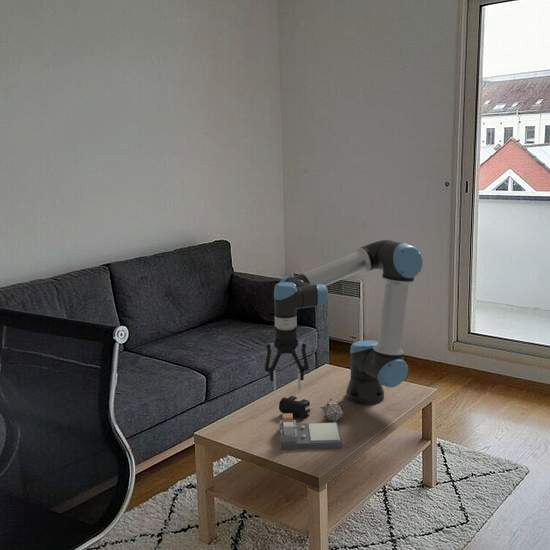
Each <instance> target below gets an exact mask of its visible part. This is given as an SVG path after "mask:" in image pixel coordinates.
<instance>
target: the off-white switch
mask: <svg viewBox="0 0 550 550" xmlns="http://www.w3.org/2000/svg"><path fill="white" fill-rule="evenodd" d="M283 432H284V436H289V435H294V424H293V422H283Z"/></svg>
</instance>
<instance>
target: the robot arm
mask: <svg viewBox="0 0 550 550" xmlns="http://www.w3.org/2000/svg"><path fill="white" fill-rule="evenodd" d="M422 269H423V257H422V253H421V252H420V251H419V249H418V248H417V247H416V246H413V245H411V244H408V243H404V242H399V241H394V240H390V239H382V240H377V241H374V242H370V243H368V244H365V245H363V246H361V247H359V248H357V249H356V250H355V252H353V253H351V254H349V255H346V256H343V257H341V258H338V259H335V260H333V261H331V262H328V263H326V264H324V265H321V266H318V267H316V268H313V269H311V270H308V271H306V272H304V273H302V274H298V275H296V276H292V275H288V276H287V275H286V276H284V277H282V278H281V279H280V281H279V282H278V283H276V284H275V285H274V287H273V288H274V290H273V303H274V305H273V306H274V327H275V328H274V341H273V342H267V343H266V350H267V352H266V358H265V365H264V371H265V372H266V373H269V379H270V382H273V392H276V391H277V379H276V378H277V376H276V375H277V374H276V373H277V372H276V366H277V364H278V362H279V360H280V357H282V356H281V355H285V354H291V355H292V357H293V359H294V361H295V363H296V366H297V367H298V369H297V389H298V391H302V390H301V389H302V387H301V381H304V379H305V378H304V376H305V375H304V373H305V371H309V369H310V368H309V362H308V359H307V354H306V353H307V352H306V348H307V342H306V341H299V340H298V331H297V330H298V329H297V325H298V324H297V323H298V322H297V321H298V320H297V310H301V309H306V308H314V307H320V306H323V305H326V304H327V302H328V300H329V292H328V289H327V286H328V285H329V286H330V285H331V284H334V283H337V282H338V281H341V280H344V279H346V278H348V277H351V276H353V275H356V274H358V273H361V272H364V273H365V272H366V273H367V272H371V271H373V270H382V279H383V281H384V282H385V285H384V286H385V287H384V294H383V301H382V309H381V315H380V325H379V332H378V339H377V340H372V339H371V340H369V339H367V340H358V341H355V342H353V343H352V344H351V346H350V351H349V354H350V379H349V381H348V384H347V387H346V392H345V396H346V399H347V400H348V401H350V402H351V403H355V404H358V405H359V404H360V405H372V404H373V405H374V404H377V403H380V402H382V401H383V400H384V399H385V391H384V388H383V386H384V387H387V388H395V387H398V386H400V384H401V383H403V382H404V381H405V379H406V378H407V376H408V373H409V366H408V364H407V362H406V361H405V360H404V356H405V352H404V351H405V350H403V349H402V340H403V331H404V325H405V318H406V317H405V316H406V311H407V310H406V309H407V302H408V301H407V300H408V294H409V287H410V285H411V284H412V283H414V281H415V278H416V277H417V276H418V275H419V273H421V271H422ZM298 346H299V348H300V349H301V354H302V359H303V363H302V362H301V360H300V357H299V355H298V354H297V352H296V348H297V347H298ZM274 347H275V349H277V351H276V354H275V356H274V358H273V361H272V363H271V355H272V354H271V353H272V350H273V349H274ZM270 363H271V366H270ZM302 364H303V365H304V366H303V365H302Z"/></svg>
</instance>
